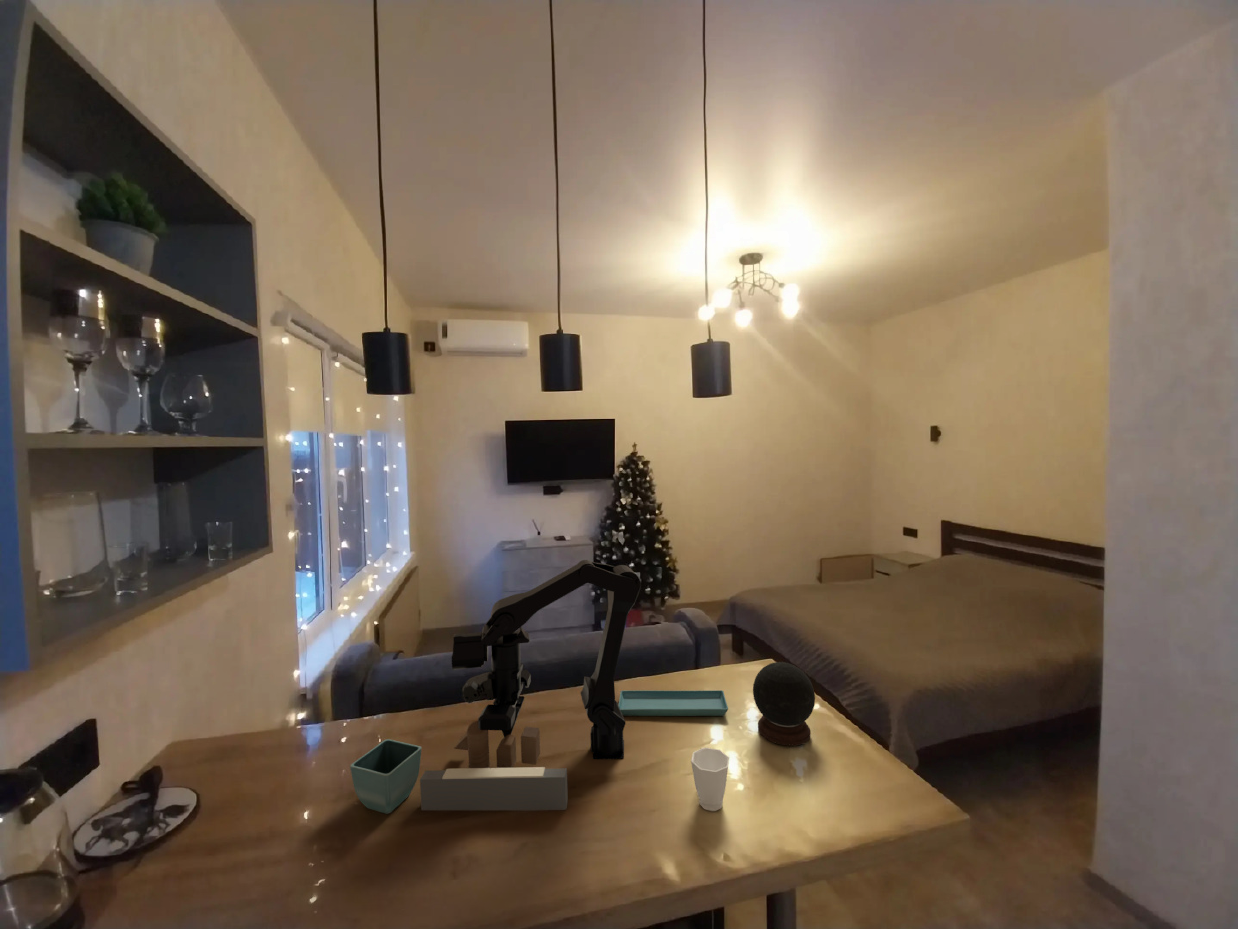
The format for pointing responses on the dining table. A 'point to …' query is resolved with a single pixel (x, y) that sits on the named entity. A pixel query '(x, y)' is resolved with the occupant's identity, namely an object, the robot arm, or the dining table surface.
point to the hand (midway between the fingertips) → (507, 737)
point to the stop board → (494, 789)
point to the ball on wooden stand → (784, 703)
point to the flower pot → (386, 774)
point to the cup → (710, 776)
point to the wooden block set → (499, 747)
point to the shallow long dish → (672, 703)
